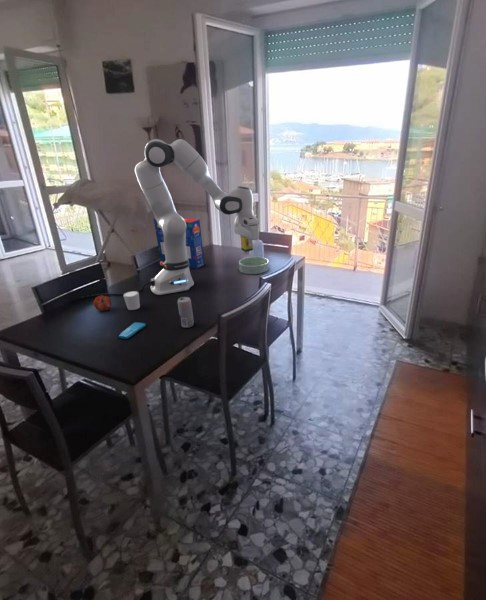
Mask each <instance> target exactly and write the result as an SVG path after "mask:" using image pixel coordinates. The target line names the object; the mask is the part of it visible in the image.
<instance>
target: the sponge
mask: <svg viewBox="0 0 486 600" xmlns="http://www.w3.org/2000/svg"><path fill="white" fill-rule="evenodd" d="M145 327H146V323H144V322H133V323H132V324H131V325H130V326H128V327H127V328H126V329H125V330H123V331H122V332H120V334H119V335H118V338H119V339H125V340H127V339H129V338H131V337H132V336H134V335H135V334H136V333H137V332H139V331H140V330H142V329H144V328H145Z"/></svg>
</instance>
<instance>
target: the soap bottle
mask: <svg viewBox="0 0 486 600" xmlns="http://www.w3.org/2000/svg"><path fill="white" fill-rule="evenodd" d="M259 233H260V230H259ZM259 238H260V237H259ZM259 238H258V239H256V240H252V244H253V250H252V251H249V257H263V258H265V247H264V246H265V245H264V242H263V240H261V239H259Z"/></svg>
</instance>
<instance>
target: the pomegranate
mask: <svg viewBox="0 0 486 600" xmlns="http://www.w3.org/2000/svg"><path fill="white" fill-rule="evenodd" d="M93 306H94V308H95V309H96V310H97V311H99V312H105V311H109V310H110V309H111V307H112V300H111V298H110V297H109V296H108V295H100V296H95V298H94V300H93Z"/></svg>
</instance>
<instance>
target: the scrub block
mask: <svg viewBox="0 0 486 600" xmlns="http://www.w3.org/2000/svg"><path fill="white" fill-rule="evenodd" d="M247 243H248V238H246V237H240V247H241V251H243V252H245V253H246V252H247V253H248V252H250V251H252V250H253V244H252V245H251V246H248V245H247Z"/></svg>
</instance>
